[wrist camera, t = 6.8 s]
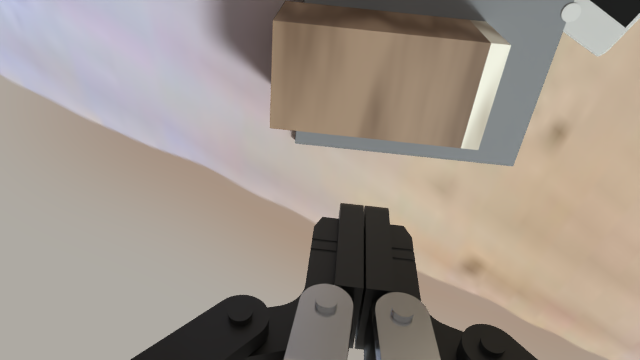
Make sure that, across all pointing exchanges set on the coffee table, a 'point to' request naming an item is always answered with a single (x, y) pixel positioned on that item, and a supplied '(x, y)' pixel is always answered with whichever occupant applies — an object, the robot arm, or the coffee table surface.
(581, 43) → the smartphone
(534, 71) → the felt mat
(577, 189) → the coffee table surface
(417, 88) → the brown wooden block
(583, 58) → the coffee table surface
